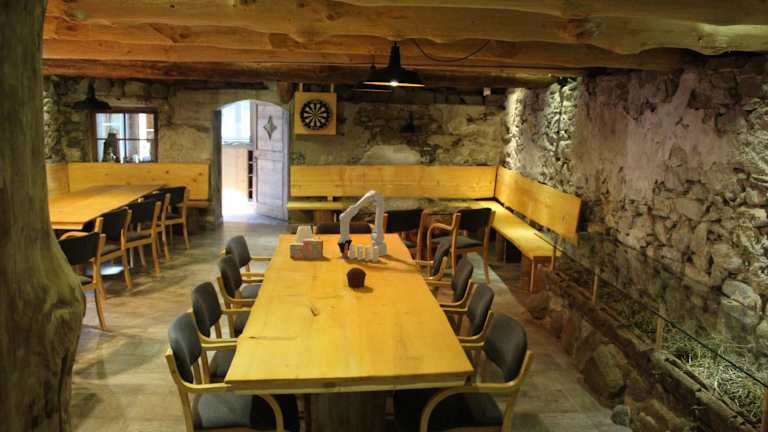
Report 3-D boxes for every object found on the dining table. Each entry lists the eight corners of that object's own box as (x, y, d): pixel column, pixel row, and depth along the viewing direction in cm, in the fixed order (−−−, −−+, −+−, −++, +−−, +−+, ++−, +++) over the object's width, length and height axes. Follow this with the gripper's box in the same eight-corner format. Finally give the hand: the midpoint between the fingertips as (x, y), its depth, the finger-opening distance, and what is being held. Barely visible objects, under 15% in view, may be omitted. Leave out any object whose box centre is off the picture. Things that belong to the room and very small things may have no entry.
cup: (317, 246, 440) (317, 227, 437) (300, 248, 432) (300, 229, 430) (308, 243, 451) (308, 224, 448) (292, 245, 443) (291, 226, 441)
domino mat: (380, 260, 397) (380, 259, 397) (375, 263, 390) (375, 262, 390) (342, 256, 408) (342, 255, 408) (336, 259, 401) (336, 258, 401)
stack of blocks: (289, 258, 403) (289, 240, 401) (292, 256, 409) (291, 238, 407) (321, 259, 402) (321, 240, 400) (323, 256, 408) (323, 238, 406)
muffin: (368, 288, 335) (368, 270, 333) (349, 289, 332) (348, 271, 330) (363, 282, 346) (363, 265, 344) (344, 283, 343) (344, 266, 341)
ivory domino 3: (370, 259, 398) (370, 245, 397) (367, 260, 394) (367, 247, 392) (367, 258, 399) (367, 245, 398) (364, 260, 395) (364, 247, 393)
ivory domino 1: (355, 257, 403) (355, 244, 401) (352, 259, 398) (352, 245, 397) (352, 257, 403) (352, 244, 402) (349, 258, 399) (349, 245, 397)
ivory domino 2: (363, 258, 401) (363, 245, 399) (359, 260, 396) (359, 246, 394) (360, 258, 401) (360, 244, 400) (357, 259, 397) (356, 246, 395)
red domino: (347, 256, 405) (347, 243, 403) (344, 258, 400) (344, 245, 399) (345, 256, 406) (345, 243, 404) (341, 258, 401) (341, 244, 399)
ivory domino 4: (378, 260, 396) (378, 246, 395) (375, 261, 392) (375, 248, 390) (375, 259, 397) (375, 246, 396) (372, 261, 393) (372, 247, 391)
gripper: (344, 229, 408) (344, 249, 410) (334, 233, 395) (334, 253, 397) (353, 230, 405) (353, 250, 408) (344, 233, 392) (344, 254, 394)
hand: (344, 251), depth 402 cm, fingers open, 7 cm apart
